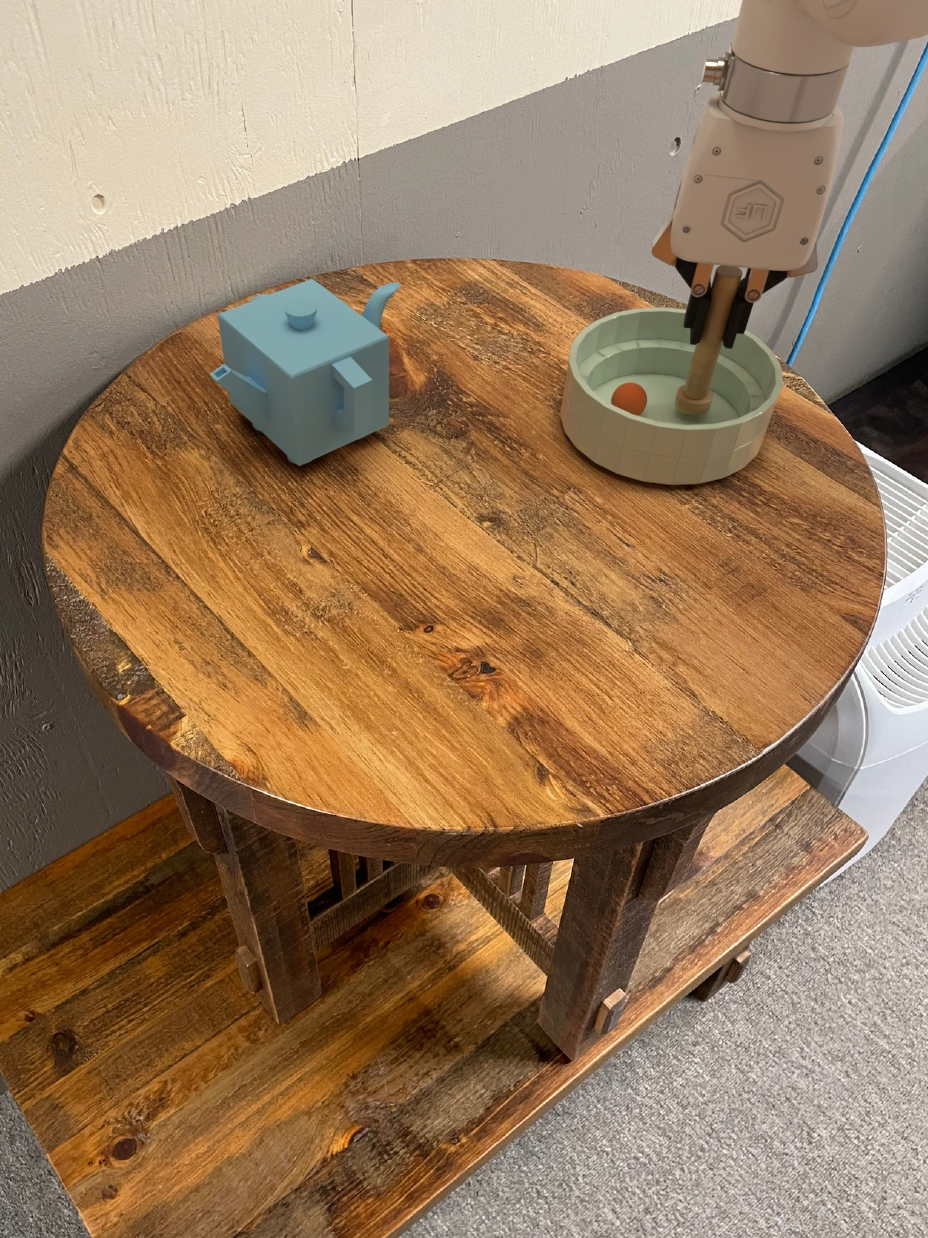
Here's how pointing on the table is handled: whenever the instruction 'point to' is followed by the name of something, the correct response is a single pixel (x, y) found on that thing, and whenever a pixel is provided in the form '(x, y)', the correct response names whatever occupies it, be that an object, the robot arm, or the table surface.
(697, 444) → the bowl
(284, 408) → the teapot
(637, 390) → the ball
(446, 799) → the table surface
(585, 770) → the table surface
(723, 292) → the rod
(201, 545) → the table surface
